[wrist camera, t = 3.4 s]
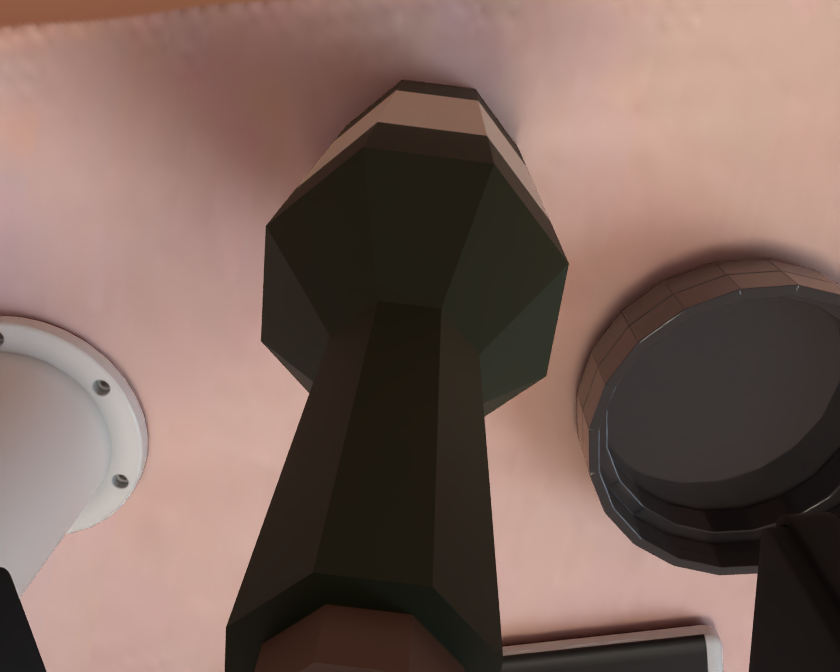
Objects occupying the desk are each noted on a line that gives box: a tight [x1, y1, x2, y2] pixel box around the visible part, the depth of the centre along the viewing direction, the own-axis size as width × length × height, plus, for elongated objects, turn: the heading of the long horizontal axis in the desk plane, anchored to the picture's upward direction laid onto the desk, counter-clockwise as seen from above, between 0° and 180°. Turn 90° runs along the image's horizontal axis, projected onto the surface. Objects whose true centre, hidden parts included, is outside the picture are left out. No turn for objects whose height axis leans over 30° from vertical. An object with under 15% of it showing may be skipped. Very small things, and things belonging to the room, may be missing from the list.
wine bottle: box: [225, 80, 569, 672], centre depth 22 cm, size 8×8×30 cm
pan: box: [577, 259, 840, 575], centre depth 38 cm, size 15×15×4 cm
